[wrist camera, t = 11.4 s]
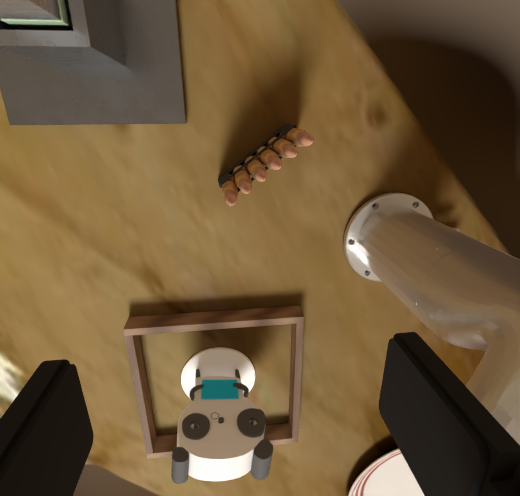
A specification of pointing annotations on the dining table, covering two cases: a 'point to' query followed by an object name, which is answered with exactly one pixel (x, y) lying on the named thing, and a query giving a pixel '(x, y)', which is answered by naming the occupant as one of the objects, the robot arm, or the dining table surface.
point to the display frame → (210, 321)
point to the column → (37, 14)
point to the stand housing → (96, 67)
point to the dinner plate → (387, 478)
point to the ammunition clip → (262, 161)
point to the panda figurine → (220, 420)
